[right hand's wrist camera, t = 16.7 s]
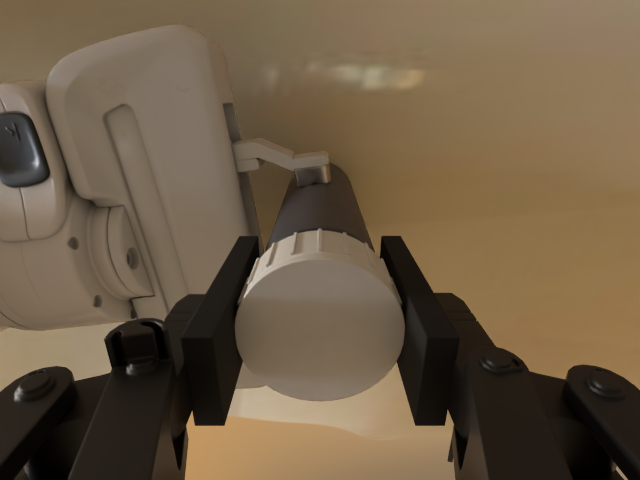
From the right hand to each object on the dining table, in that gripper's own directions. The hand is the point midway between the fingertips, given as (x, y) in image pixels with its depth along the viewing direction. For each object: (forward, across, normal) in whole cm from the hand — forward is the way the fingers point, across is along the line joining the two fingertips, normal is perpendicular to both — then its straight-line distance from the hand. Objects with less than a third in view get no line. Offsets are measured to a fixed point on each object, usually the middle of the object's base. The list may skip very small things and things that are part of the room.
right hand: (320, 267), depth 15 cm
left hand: (+6, -1, 0) cm, 6 cm away
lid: (-4, 0, 0) cm, 4 cm away
